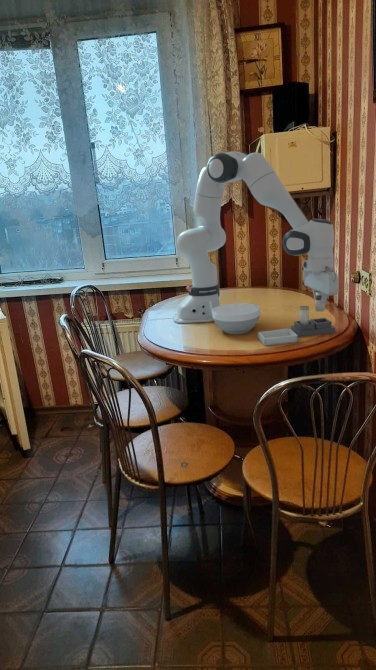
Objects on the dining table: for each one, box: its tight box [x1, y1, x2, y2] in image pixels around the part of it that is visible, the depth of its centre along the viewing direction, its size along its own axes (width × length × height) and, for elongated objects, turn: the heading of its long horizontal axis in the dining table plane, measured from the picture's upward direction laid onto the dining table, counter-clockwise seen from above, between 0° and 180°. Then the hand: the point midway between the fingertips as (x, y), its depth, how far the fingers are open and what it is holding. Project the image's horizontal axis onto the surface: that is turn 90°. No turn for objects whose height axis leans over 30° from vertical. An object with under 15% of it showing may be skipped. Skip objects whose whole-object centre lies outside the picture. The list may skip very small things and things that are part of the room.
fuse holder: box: [290, 317, 336, 338], centre depth 175 cm, size 14×8×4 cm, turn 97°
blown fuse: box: [314, 290, 326, 313], centre depth 172 cm, size 4×4×8 cm
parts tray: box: [257, 328, 299, 347], centre depth 169 cm, size 12×9×2 cm
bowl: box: [212, 302, 261, 335], centre depth 184 cm, size 19×19×9 cm
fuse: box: [298, 305, 310, 325], centre depth 173 cm, size 4×4×8 cm
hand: (320, 302), depth 172 cm, fingers closed on blown fuse, 3 cm apart
